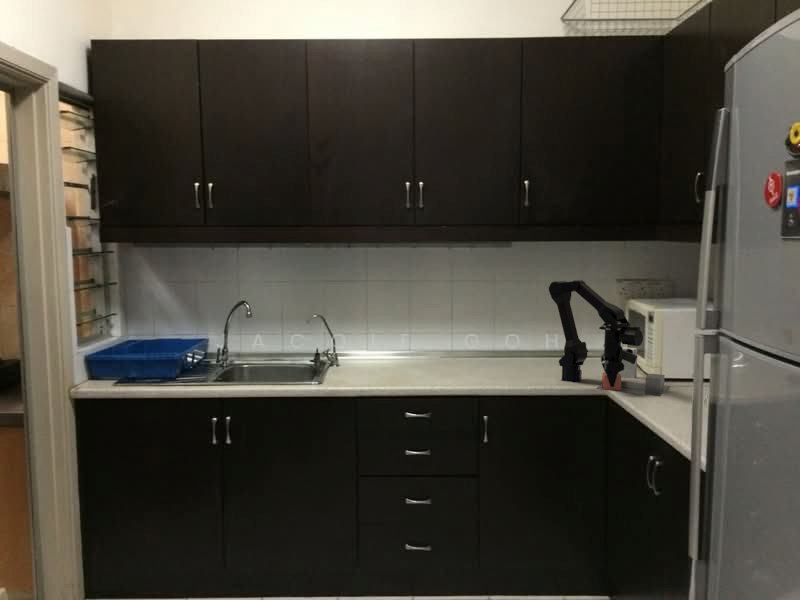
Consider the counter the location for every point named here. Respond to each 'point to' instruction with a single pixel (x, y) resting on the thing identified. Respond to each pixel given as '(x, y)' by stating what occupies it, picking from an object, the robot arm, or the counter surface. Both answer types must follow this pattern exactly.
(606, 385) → the block
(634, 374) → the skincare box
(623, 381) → the coupler
